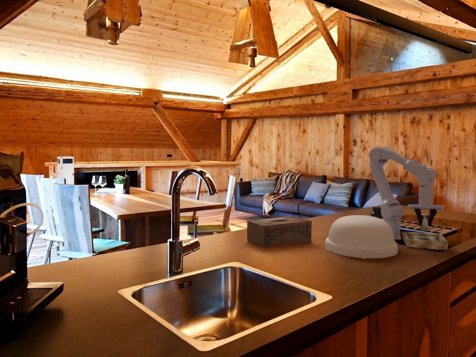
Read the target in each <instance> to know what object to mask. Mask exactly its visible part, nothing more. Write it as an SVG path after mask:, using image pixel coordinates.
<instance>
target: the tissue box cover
mask: <svg viewBox="0 0 476 357" xmlns="http://www.w3.org/2000/svg"><path fill="white" fill-rule="evenodd" d="M312 221H313V220H310V219H307V218H302V217H299V216H295V215H291V216H280V217H269V218H258V219H249V220H246V242H247V241H248V243H250V244H252V245H254V244H255V246H256V247H260V248H261V247H262V249H267V248H268V249H269V248H275V247H283V246H289V245H290V246H291V245H298V244H305V243H312V234H313V233H312V232H313V231H312V230H313V228H312V227H313V226H312V225H313V224H312Z"/></svg>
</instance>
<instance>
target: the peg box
mask: <svg viewBox="0 0 476 357" xmlns="http://www.w3.org/2000/svg"><path fill="white" fill-rule="evenodd" d="M402 233H403V234H402V235H403V236H402V239H403V242H404V244H406V245H405V247H406V246H407V247H406V248H408V247H414V248H413V249H423V248H426V250H427V249H428V250H439V251H440V250H441V251H448V250H449V248H448V247H449V246H448V244H449V242H448V240H447V239H446V238H445V237H444V236H443V234H441V233H429V232H427V233H426V232H411V231H403V232H402Z"/></svg>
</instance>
